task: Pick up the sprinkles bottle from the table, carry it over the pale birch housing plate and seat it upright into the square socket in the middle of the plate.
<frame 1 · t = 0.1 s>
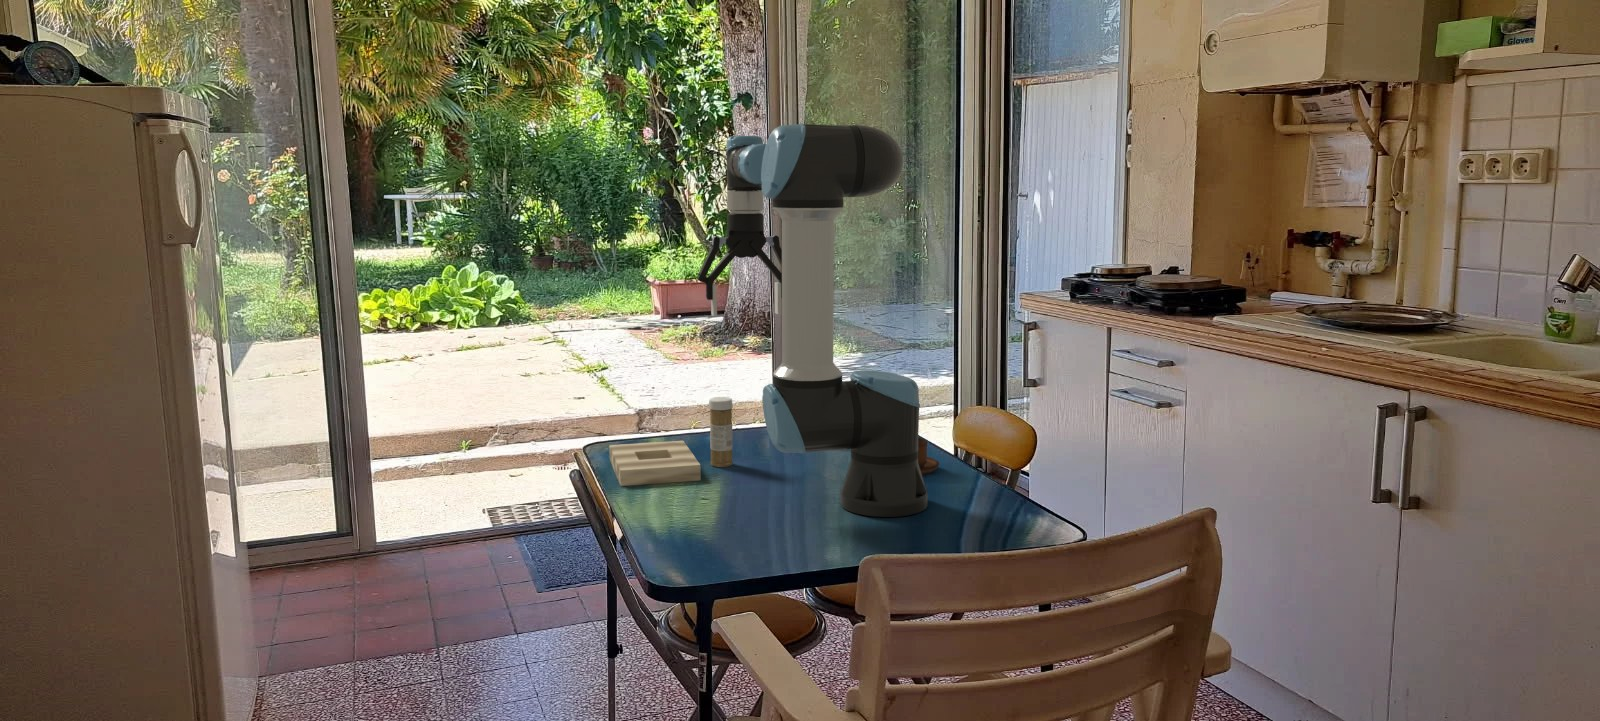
hand: (746, 314, 232), 28 cm above the table, fingers open, 13 cm apart
soda can: (795, 439, 242), on the table
sprinkles bottle: (721, 465, 220), on the table
socket plate: (653, 469, 216), on the table
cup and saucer: (907, 472, 215), on the table
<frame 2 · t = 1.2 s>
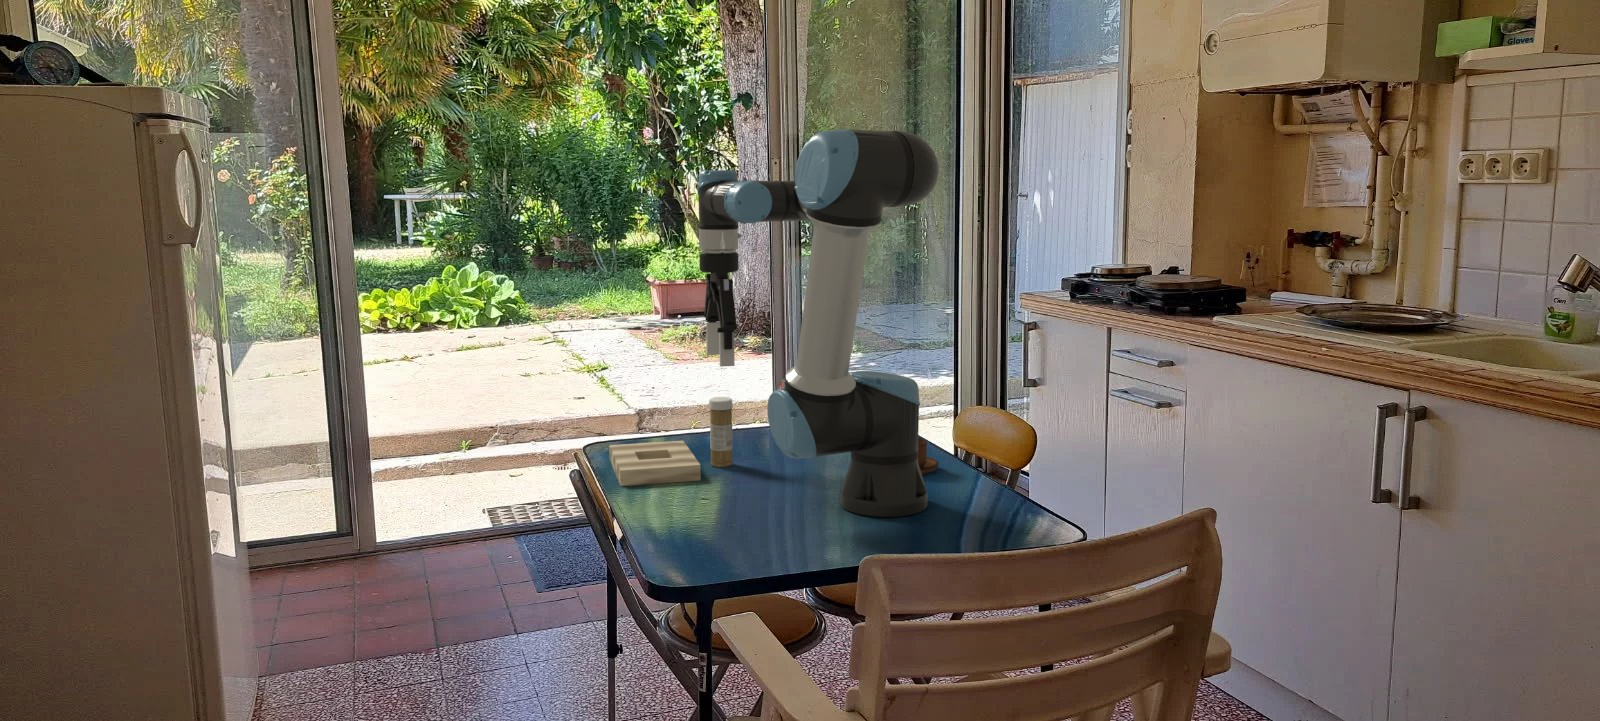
hand: (720, 360, 216), 21 cm above the table, fingers open, 13 cm apart
nothing on the table moved.
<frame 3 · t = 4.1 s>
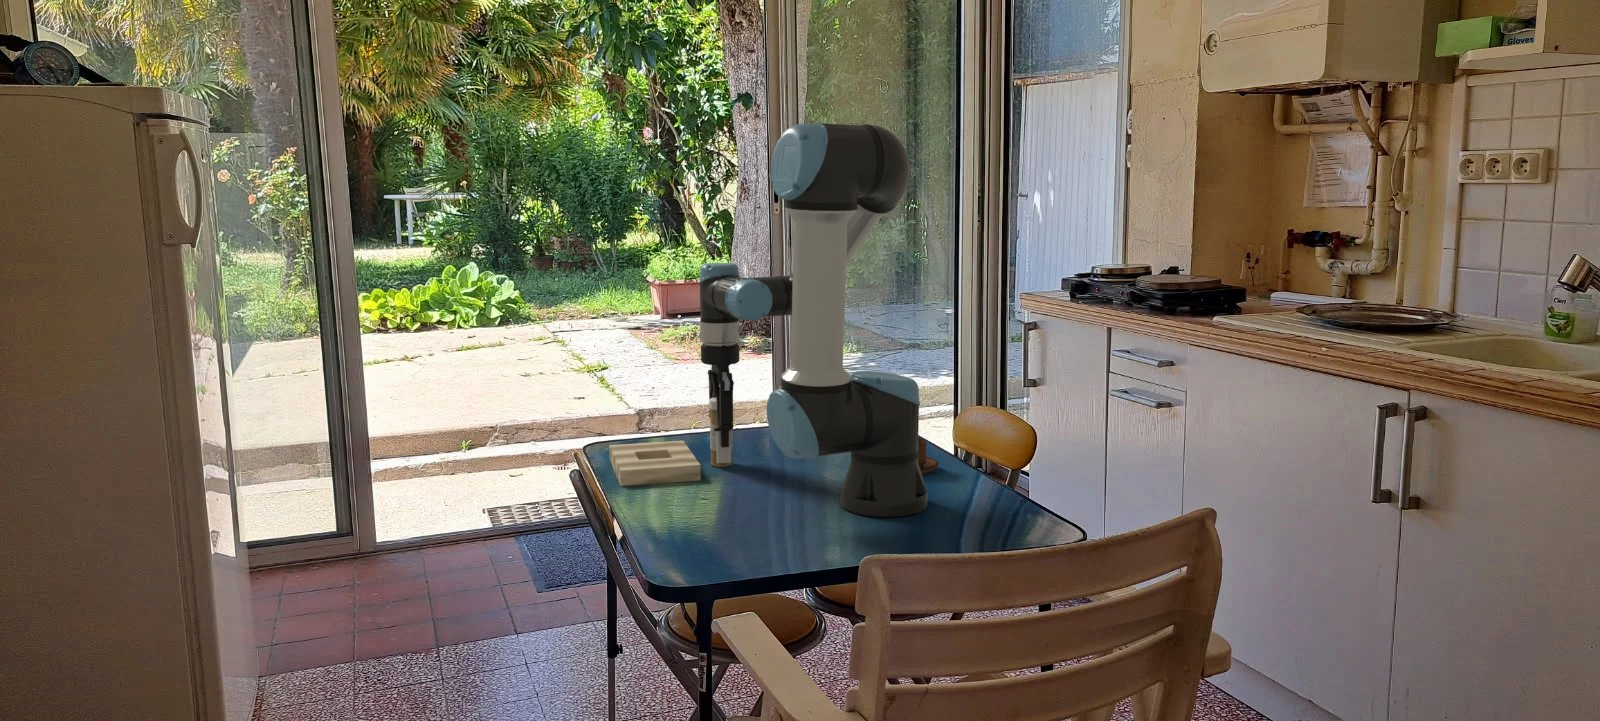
hand: (721, 459, 219), 1 cm above the table, fingers closed on sprinkles bottle, 4 cm apart
sprinkles bottle: (721, 465, 220), on the table, touching gripper
everything else where it was.
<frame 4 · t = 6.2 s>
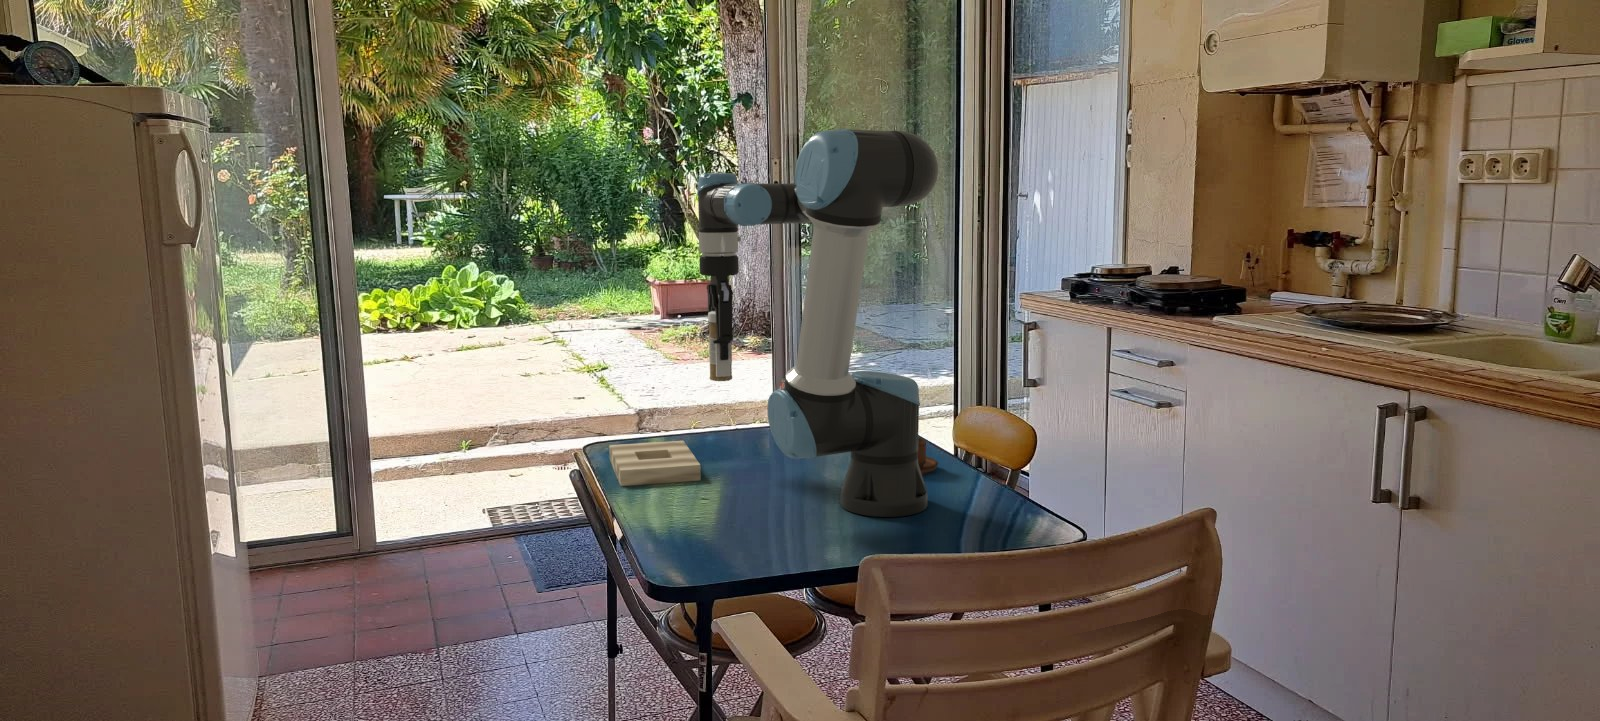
hand: (720, 373, 216), 18 cm above the table, fingers closed on sprinkles bottle, 4 cm apart
sprinkles bottle: (720, 380, 217), point 17 cm above the table, touching gripper
everything else where it was.
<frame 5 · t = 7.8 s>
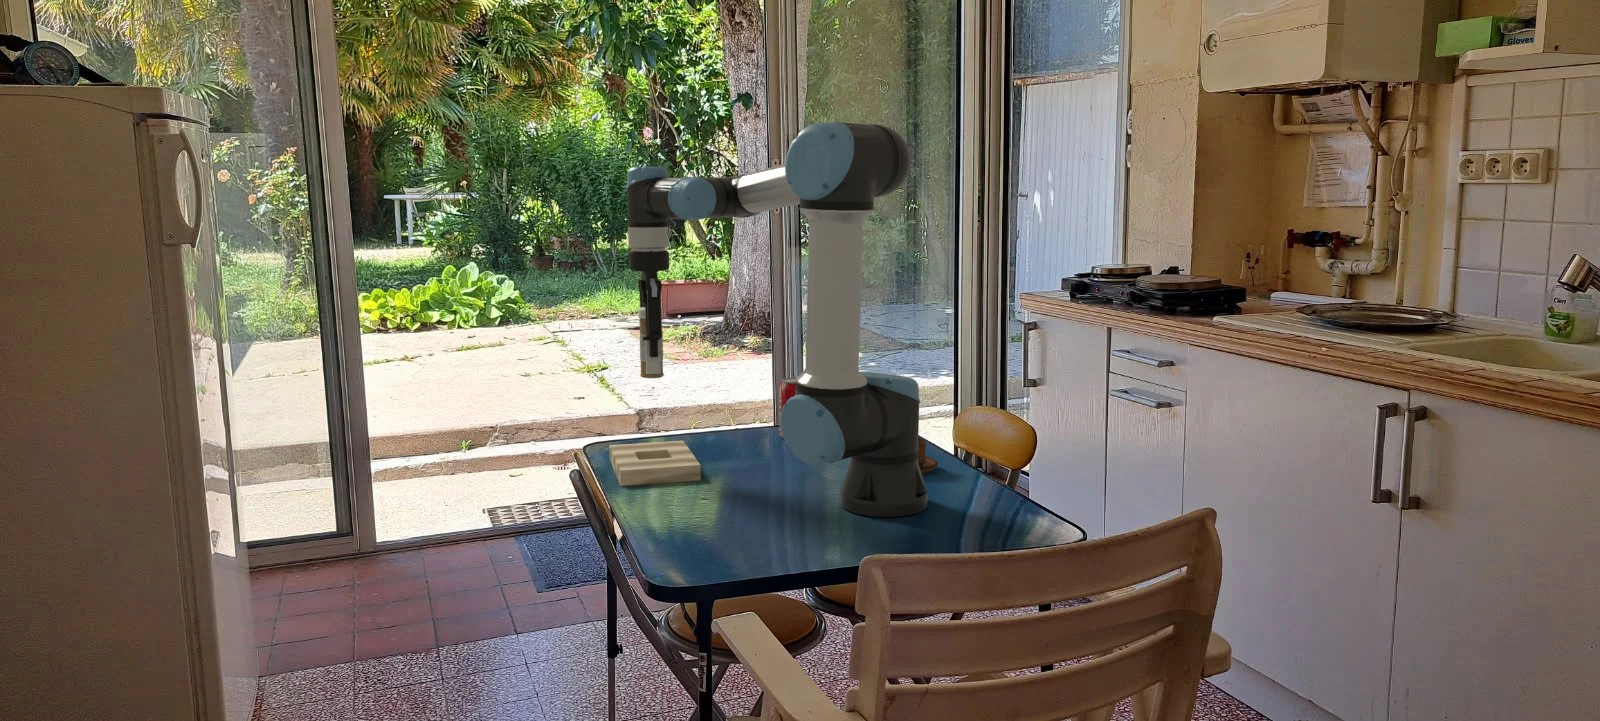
hand: (651, 371, 213), 20 cm above the table, fingers closed on sprinkles bottle, 4 cm apart
sprinkles bottle: (651, 378, 213), point 18 cm above the table, touching gripper
everything else where it was.
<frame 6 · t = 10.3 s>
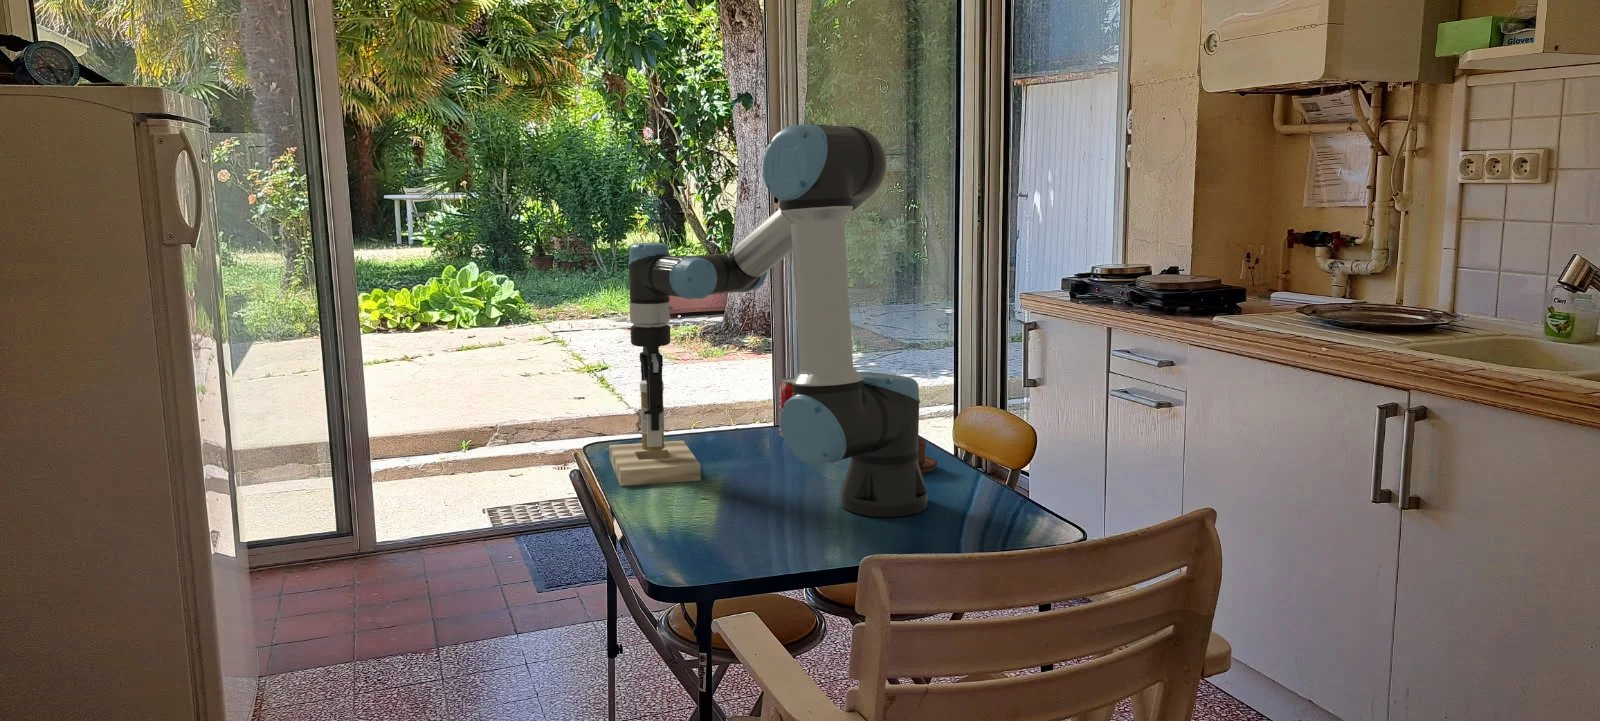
hand: (652, 443, 215), 5 cm above the table, fingers closed on sprinkles bottle, 4 cm apart
sprinkles bottle: (653, 449, 215), point 4 cm above the table, touching gripper
everything else where it was.
when the fingers open (5 cm above the table, at t = 11.2 s): sprinkles bottle drops 3 cm, resting on socket plate.
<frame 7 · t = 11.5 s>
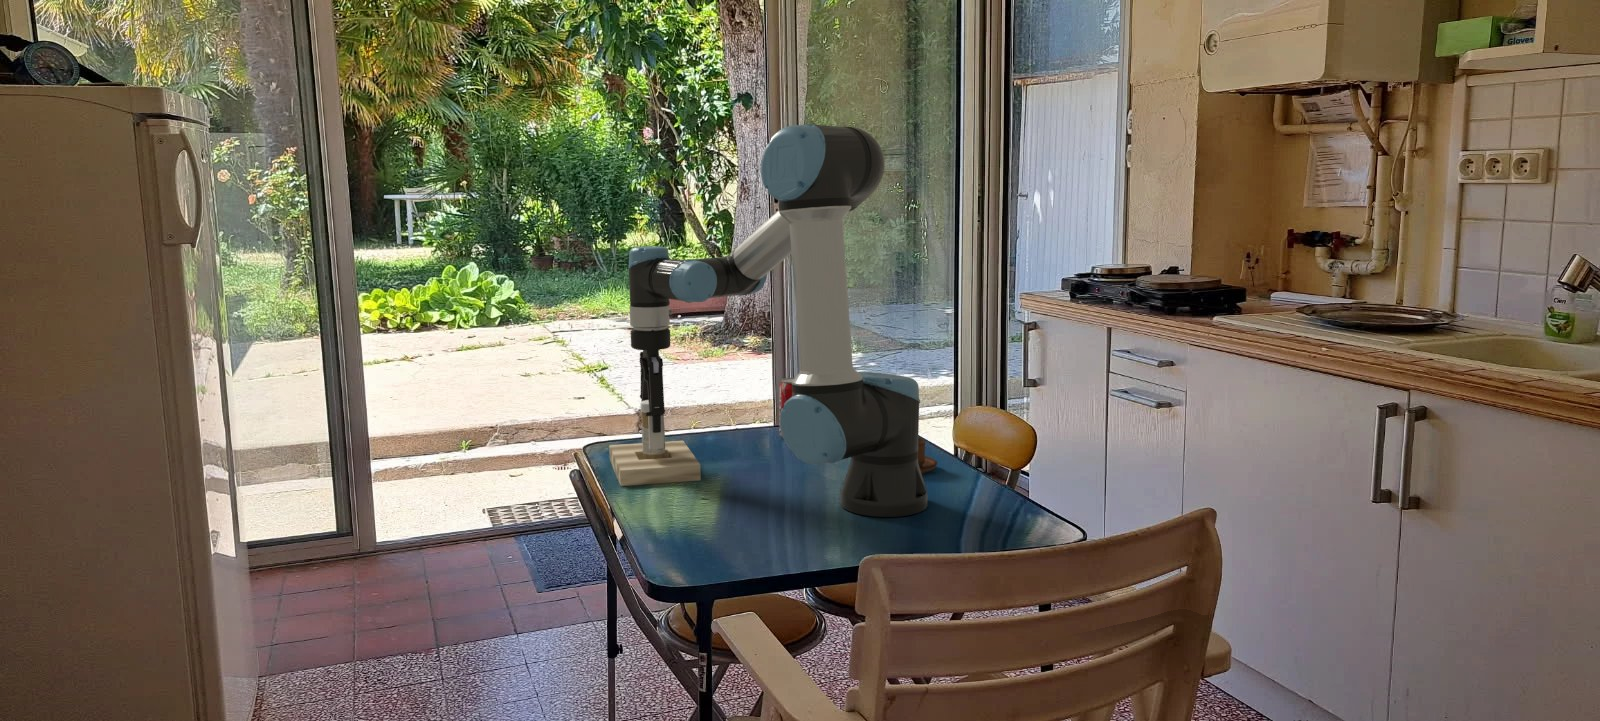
hand: (653, 442, 215), 5 cm above the table, fingers open, 9 cm apart
sprinkles bottle: (654, 469, 216), resting on socket plate
everything else where it was.
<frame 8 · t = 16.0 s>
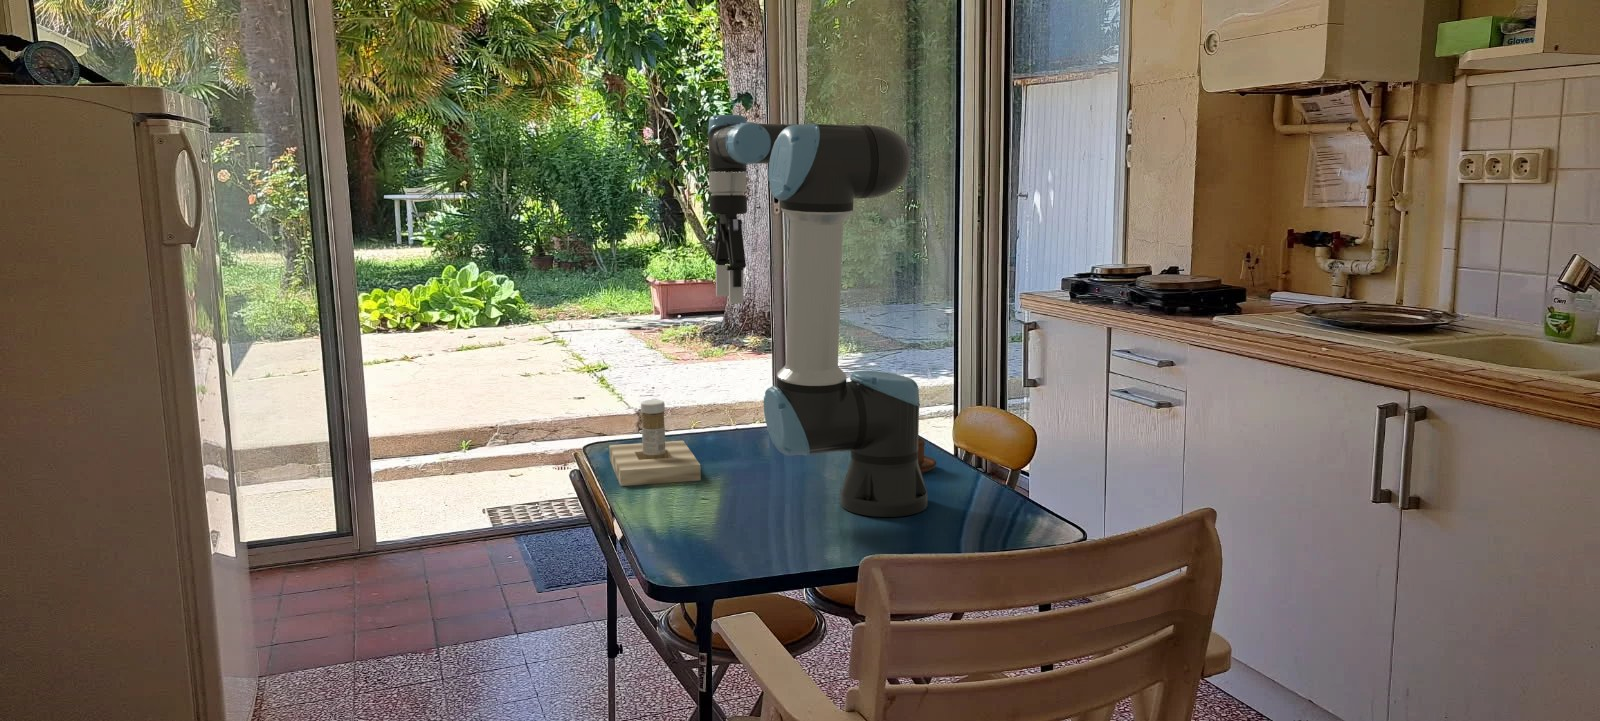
hand: (729, 299, 225), 32 cm above the table, fingers open, 13 cm apart
nothing on the table moved.
at the end: sprinkles bottle 0.4 cm off-centre on the socket plate, point 0.0 cm above the socket plate's base; sprinkles bottle tilted 0°; the gripper is holding nothing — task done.
